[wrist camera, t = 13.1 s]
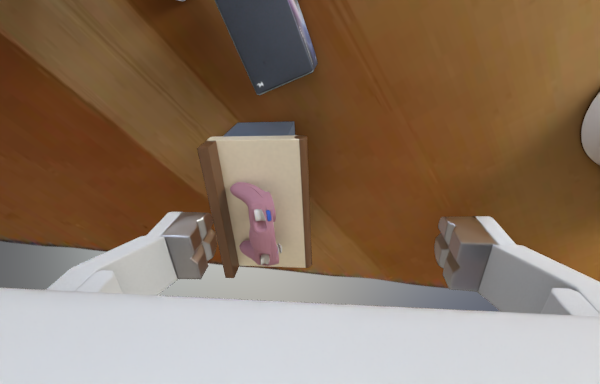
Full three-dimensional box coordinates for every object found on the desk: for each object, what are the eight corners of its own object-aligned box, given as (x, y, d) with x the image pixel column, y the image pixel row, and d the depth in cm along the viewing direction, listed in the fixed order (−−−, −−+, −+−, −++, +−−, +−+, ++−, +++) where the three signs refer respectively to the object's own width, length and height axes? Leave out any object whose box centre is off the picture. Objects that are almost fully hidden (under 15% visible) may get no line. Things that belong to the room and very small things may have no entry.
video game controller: (272, 239, 40) (288, 273, 34) (238, 248, 39) (250, 284, 33) (265, 173, 36) (283, 198, 30) (227, 180, 34) (238, 208, 28)
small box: (321, 63, 37) (317, 73, 27) (274, 84, 38) (256, 99, 29) (287, -34, 32) (269, -61, 23) (236, -6, 34) (200, -21, 25)
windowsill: (312, 117, 40) (304, 146, 29) (315, 227, 48) (310, 281, 38) (231, 119, 41) (196, 147, 31) (248, 226, 50) (225, 277, 39)
